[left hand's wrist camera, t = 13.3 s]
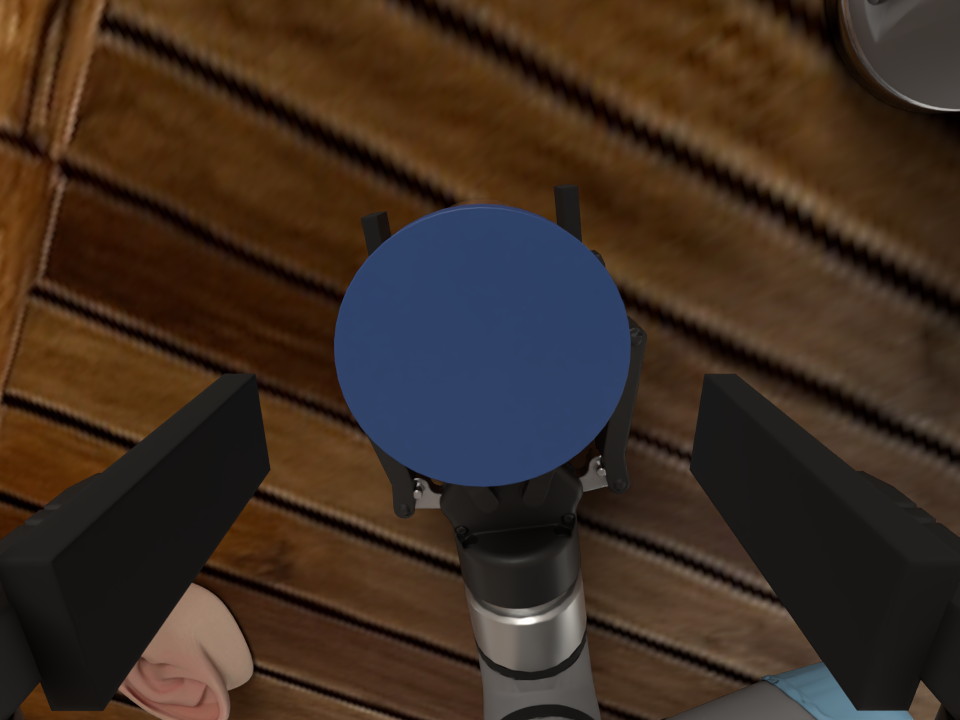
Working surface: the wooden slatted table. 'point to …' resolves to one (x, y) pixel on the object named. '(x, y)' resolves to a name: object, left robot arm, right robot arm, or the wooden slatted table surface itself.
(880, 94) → the left robot arm
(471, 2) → the wooden slatted table surface
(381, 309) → the lid
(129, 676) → the anatomical model
